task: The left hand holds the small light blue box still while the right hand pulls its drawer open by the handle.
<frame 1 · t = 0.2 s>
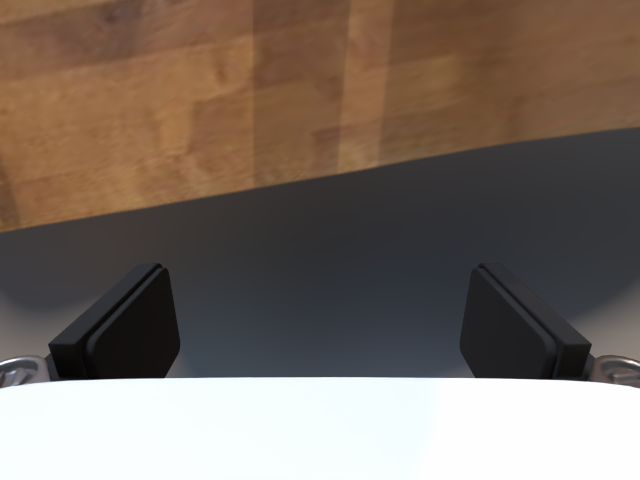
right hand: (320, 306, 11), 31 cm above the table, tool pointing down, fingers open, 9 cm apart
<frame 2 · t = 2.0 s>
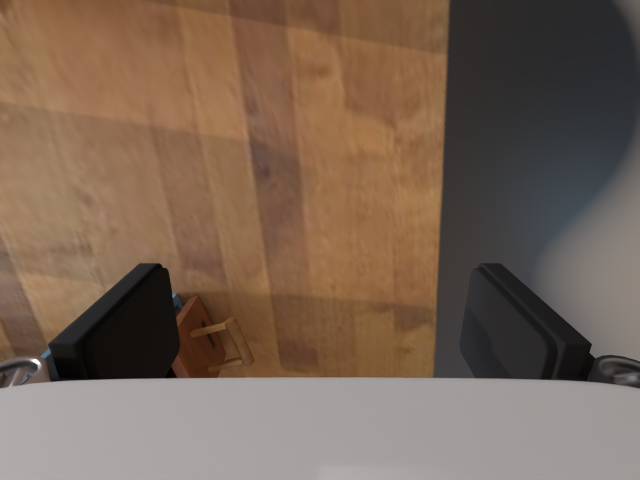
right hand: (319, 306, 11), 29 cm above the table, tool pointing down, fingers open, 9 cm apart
drawer: (173, 355, 41), point 5 cm above the table, slide at 1.7 cm
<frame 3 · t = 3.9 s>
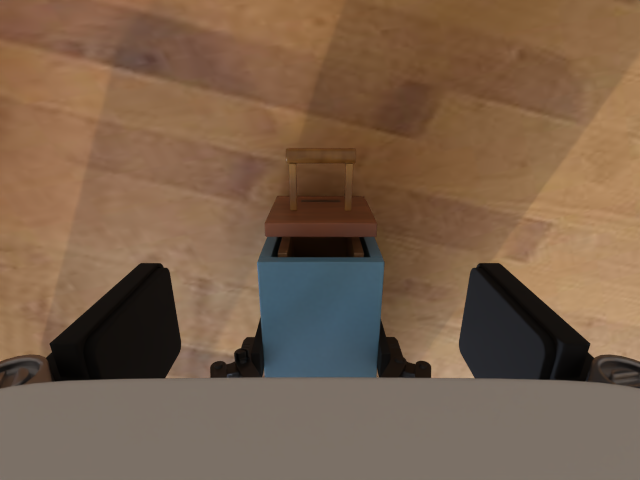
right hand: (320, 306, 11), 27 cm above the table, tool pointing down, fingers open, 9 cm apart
light blue box: (320, 277, 41), on the table, touching left hand
drawer: (320, 243, 34), point 5 cm above the table, slide at 1.7 cm
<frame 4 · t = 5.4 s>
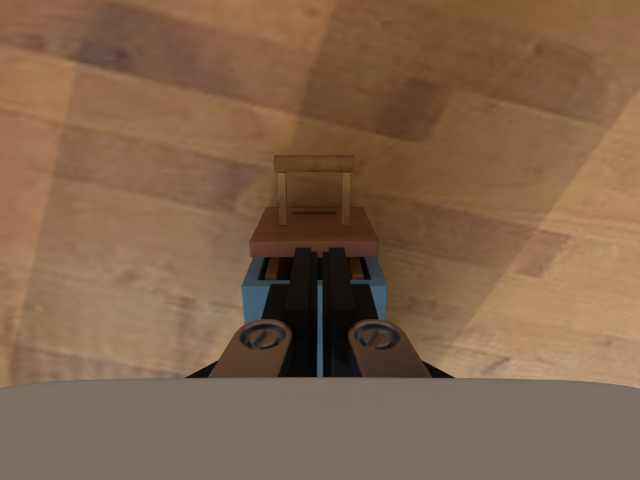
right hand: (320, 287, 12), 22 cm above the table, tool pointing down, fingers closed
light blue box: (315, 295, 37), on the table, touching left hand
drawer: (314, 261, 30), point 5 cm above the table, slide at 1.7 cm
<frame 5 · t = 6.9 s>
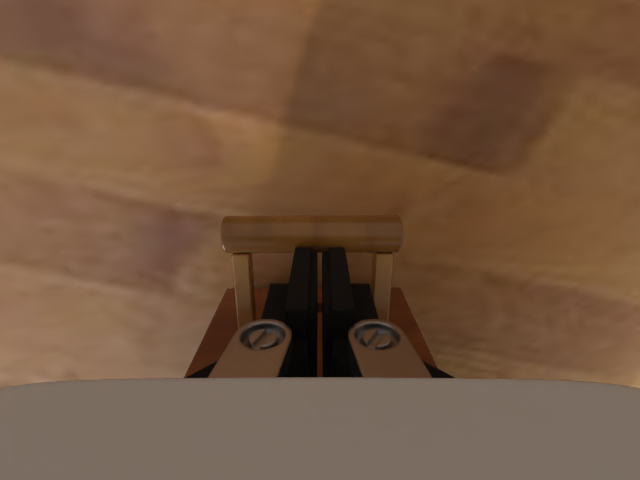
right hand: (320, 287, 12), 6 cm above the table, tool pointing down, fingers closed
drawer: (313, 408, 15), point 5 cm above the table, slide at 1.7 cm, touching right hand
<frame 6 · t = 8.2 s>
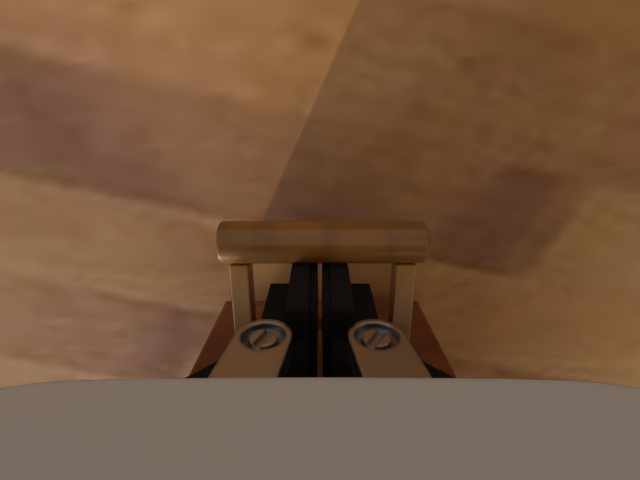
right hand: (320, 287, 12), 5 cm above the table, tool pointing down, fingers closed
drawer: (322, 439, 14), point 5 cm above the table, slide at 6.5 cm, touching right hand
when the left hand's fingers open (6 cm above the table, at t = 10.0 s): light blue box stays where it is, on the table.
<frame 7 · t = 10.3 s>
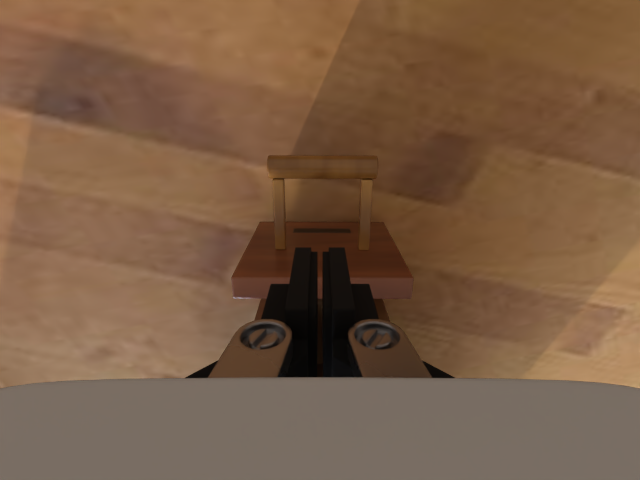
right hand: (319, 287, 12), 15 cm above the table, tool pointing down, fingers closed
drawer: (321, 295, 23), point 5 cm above the table, slide at 6.5 cm
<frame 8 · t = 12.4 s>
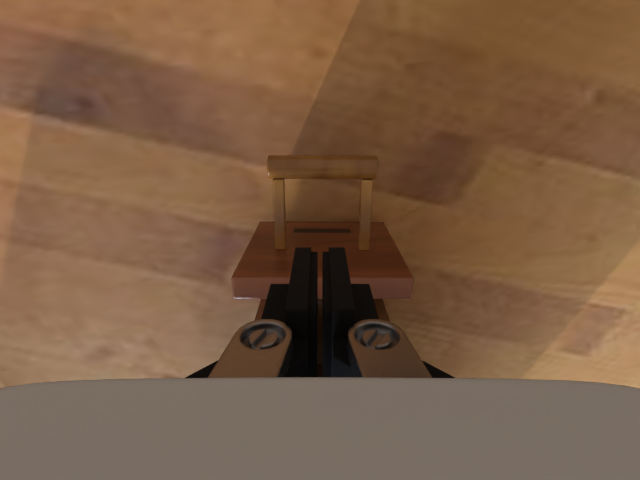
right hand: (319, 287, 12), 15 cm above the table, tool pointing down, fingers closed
drawer: (321, 295, 23), point 5 cm above the table, slide at 6.5 cm
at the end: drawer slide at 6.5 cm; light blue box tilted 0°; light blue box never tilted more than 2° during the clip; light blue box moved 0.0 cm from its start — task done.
